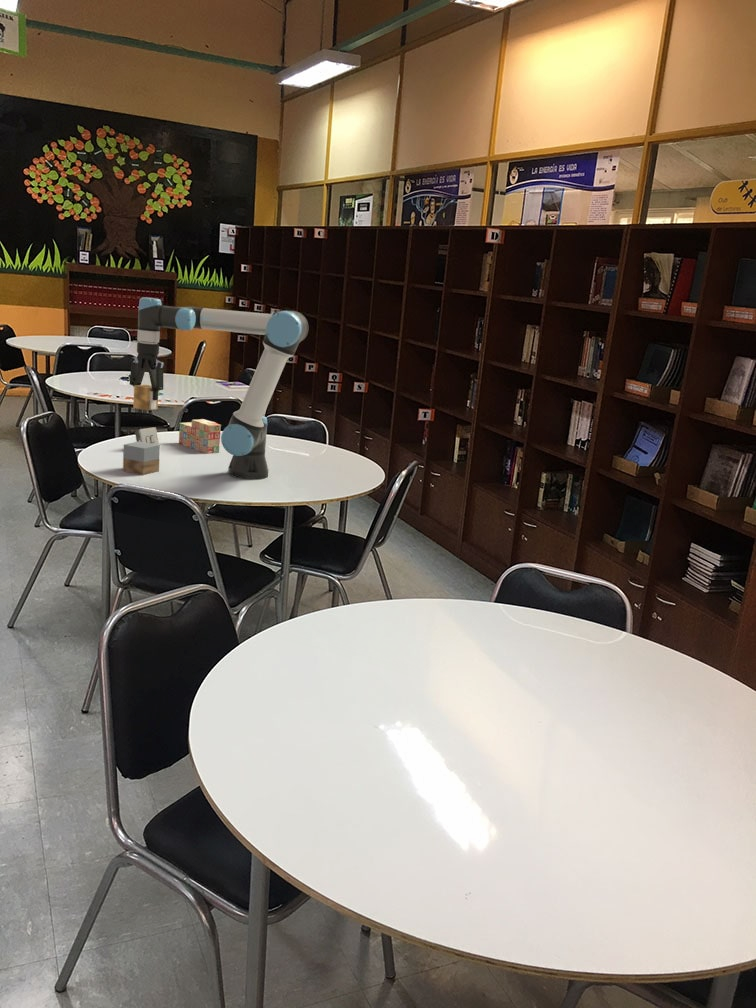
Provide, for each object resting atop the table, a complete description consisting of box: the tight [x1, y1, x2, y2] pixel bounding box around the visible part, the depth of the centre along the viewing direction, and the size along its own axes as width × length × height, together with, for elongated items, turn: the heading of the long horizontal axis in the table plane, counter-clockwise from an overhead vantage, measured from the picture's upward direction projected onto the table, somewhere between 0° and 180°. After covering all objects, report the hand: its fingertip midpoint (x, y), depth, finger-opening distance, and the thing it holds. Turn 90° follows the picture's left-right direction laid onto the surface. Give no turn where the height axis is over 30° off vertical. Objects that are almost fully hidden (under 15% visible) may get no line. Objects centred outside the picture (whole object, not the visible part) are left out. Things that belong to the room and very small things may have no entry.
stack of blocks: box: [178, 418, 222, 455], centre depth 350 cm, size 21×6×12 cm, turn 46°
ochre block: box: [132, 384, 159, 411], centre depth 297 cm, size 6×6×8 cm
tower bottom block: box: [122, 458, 160, 476], centre depth 302 cm, size 9×9×5 cm
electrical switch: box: [134, 426, 160, 445], centre depth 337 cm, size 9×5×9 cm, turn 152°
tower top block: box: [122, 440, 161, 462], centre depth 301 cm, size 9×9×5 cm
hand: (145, 407), depth 298 cm, fingers closed on ochre block, 6 cm apart
